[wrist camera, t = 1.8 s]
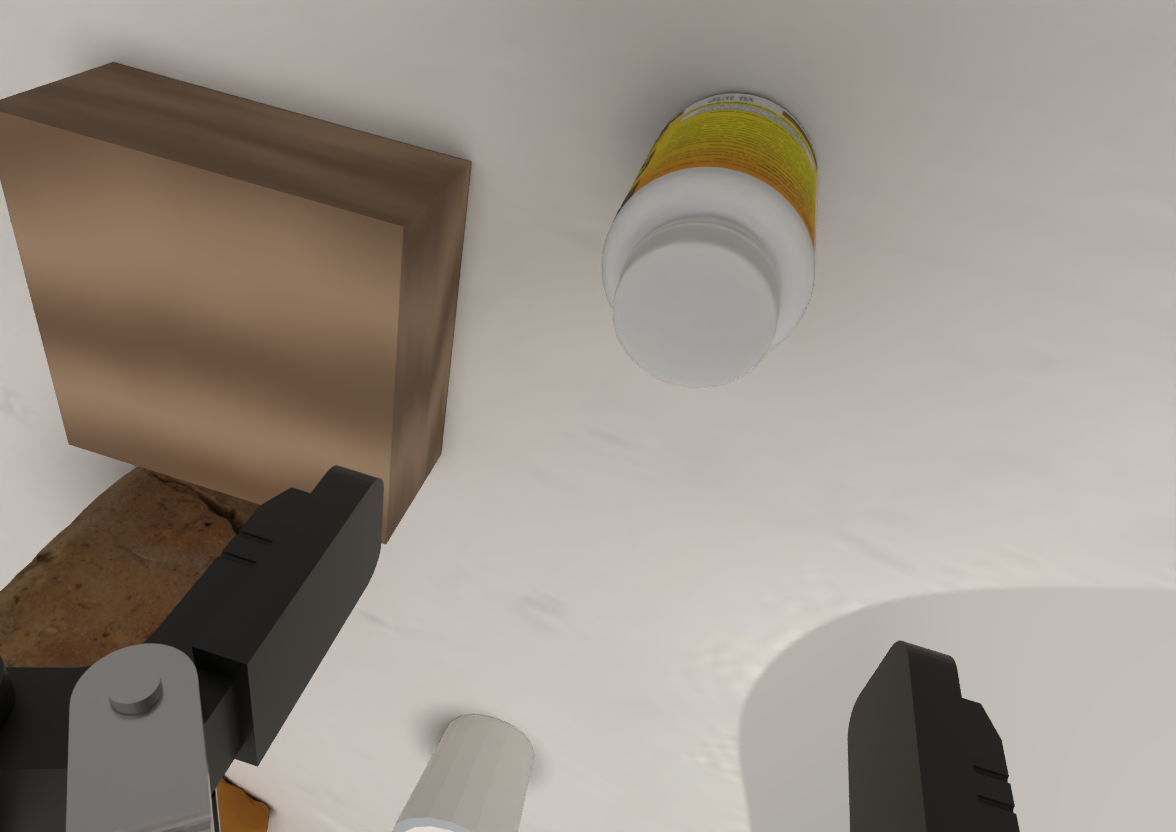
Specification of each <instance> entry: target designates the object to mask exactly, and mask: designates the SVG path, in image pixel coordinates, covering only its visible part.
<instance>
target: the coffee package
mask: <svg viewBox="0 0 1176 832" xmlns="http://www.w3.org/2000/svg"><path fill="white" fill-rule="evenodd" d="M216 789H217V799H218V809H219V819H220V828H221V832H267V829H268V820H269V810H268V808H267V806H266V805H265V804H264V803H262V802H259V801H255V800H253V799H252V798H250V797H249V796H248V795H247V794H246V793H245V791H244V790H243V789H241V788H239V787H237V786H235V785H233V784H231V783H227V781H225V780H224V778H223V777H222V779H221V781H220V782H219V784H218V785H217V787H216Z"/></svg>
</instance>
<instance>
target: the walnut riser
mask: <svg viewBox="0 0 1176 832" xmlns="http://www.w3.org/2000/svg"><path fill="white" fill-rule="evenodd" d="M470 171H471V162H469V161H466V160H462V159H459V158H455V157H451V156H448V155H444V154H441V153H437V152H433V151H430V150H426V149H423V148H419V147H415V146H412V145H408V144H405V143H401V142H397V141H394V140H390V139H387V138H383V137H379V136H376V135H372V134H369V133H365V132H362V131H358V130H354V129H351V128H347V127H344V126H340V125H336V124H333V123H329V122H326V121H322V120H318V119H315V118H311V117H308V116H304V115H300V114H297V113H293V112H290V111H286V110H282V109H279V108H275V107H272V106H268V105H264V104H261V103H257V102H254V101H250V100H246V99H243V98H239V97H236V96H232V95H228V94H225V93H221V92H218V91H214V90H211V89H207V88H203V87H200V86H196V85H193V84H189V83H185V82H182V81H178V80H175V79H171V78H167V77H164V76H160V75H157V74H153V73H149V72H146V71H142V70H139V69H135V68H131V67H128V66H124V65H121V64H117V63H113V62H112V63H109V64H106V65H103V66H100V67H97V68H94V69H91V70H88V71H85V72H82V73H79V74H76V75H73V76H70V77H67V78H64V79H61V80H58V81H55V82H52V83H49V84H46V85H43V86H40V87H37V88H34V89H31V90H28V91H25V92H22V93H19V94H16V95H13V96H10V97H7V98H4V99H1V100H0V180H1V184H2V188H3V192H4V196H5V200H6V203H7V207H8V211H9V215H10V219H11V223H12V227H13V230H14V234H15V238H16V242H17V246H18V250H19V254H20V257H21V261H22V265H23V269H24V273H25V277H26V281H27V284H28V288H29V292H30V296H31V300H32V304H33V308H34V312H35V315H36V319H37V323H38V327H39V331H40V335H41V339H42V342H43V346H44V350H45V354H46V358H47V362H48V366H49V369H50V373H51V377H52V381H53V385H54V389H55V393H56V396H57V400H58V404H59V408H60V412H61V416H62V420H63V423H64V427H65V431H66V435H67V439H68V443H69V444H70V445H73V446H76V447H79V448H82V449H86V450H89V451H92V452H95V453H98V454H101V455H105V456H108V457H111V458H114V459H117V460H120V461H124V462H127V463H130V464H133V465H136V466H139V467H143V468H146V469H149V470H152V471H155V472H158V473H162V474H165V475H168V476H171V477H174V478H177V479H181V480H184V481H187V482H190V483H193V484H196V485H200V486H203V487H206V488H209V489H212V490H215V491H219V492H222V493H225V494H228V495H231V496H234V497H238V498H241V499H244V500H247V501H250V502H253V503H257V504H260V505H262V504H263V503H265V502H267V501H268V500H270V499H272V498H274V497H275V496H277V495H279V494H280V493H282V492H284V491H286V490H287V489H289V488H291V487H292V488H296V489H299V490H302V491H305V492H308V493H311V492H312V491H313V489H314V488H315V487H316V485H317V484H318V483H319V482H320V480H321V479H322V478H323V476H324V475H325V474H326V473H327V471H328V470H329V469H330V468H331V467H333V466H335V465H338V466H341V467H344V468H348V469H351V470H354V471H357V472H361V473H364V474H367V475H370V476H374V477H377V478H380V479H382V480H383V483H384V497H383V516H382V535H381V543H383V544H387V542H388V540H389V539H390V537H391V535H392V534H393V532H394V530H395V529H396V527H397V526H398V524H399V522H400V521H401V519H402V517H403V516H404V514H405V512H406V511H407V509H408V508H409V506H410V504H411V503H412V501H413V499H414V498H415V496H416V495H417V493H418V491H419V490H420V488H421V486H422V485H423V483H424V481H425V480H426V478H427V477H428V475H429V473H430V472H431V470H432V468H433V467H434V465H435V463H436V462H437V460H438V459H439V457H440V455H441V450H442V440H443V431H444V421H445V412H446V402H447V392H448V383H449V373H450V364H451V354H452V344H453V335H454V325H455V316H456V306H457V296H458V287H459V277H460V267H461V258H462V248H463V239H464V229H465V219H466V210H467V200H468V191H469V181H470Z"/></svg>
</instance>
